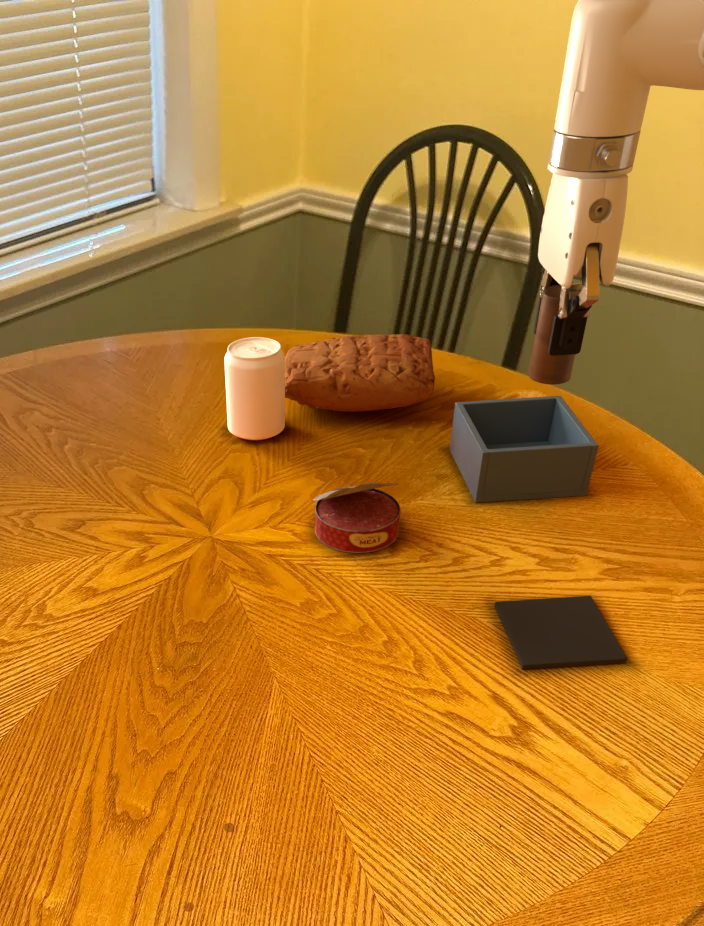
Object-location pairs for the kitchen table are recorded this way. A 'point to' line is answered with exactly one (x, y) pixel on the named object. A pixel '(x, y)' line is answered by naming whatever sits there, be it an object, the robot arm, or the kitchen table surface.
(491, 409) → the bin
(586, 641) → the mat
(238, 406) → the beverage can
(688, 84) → the robot arm
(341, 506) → the canned food
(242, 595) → the kitchen table surface
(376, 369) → the inscribed clay slab
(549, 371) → the brown cylinder
